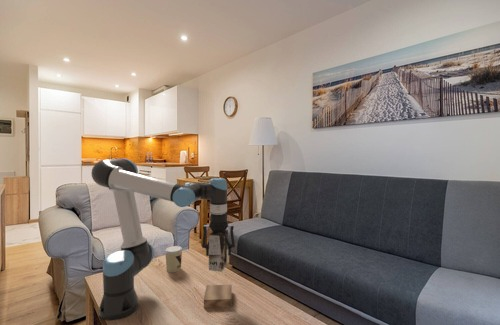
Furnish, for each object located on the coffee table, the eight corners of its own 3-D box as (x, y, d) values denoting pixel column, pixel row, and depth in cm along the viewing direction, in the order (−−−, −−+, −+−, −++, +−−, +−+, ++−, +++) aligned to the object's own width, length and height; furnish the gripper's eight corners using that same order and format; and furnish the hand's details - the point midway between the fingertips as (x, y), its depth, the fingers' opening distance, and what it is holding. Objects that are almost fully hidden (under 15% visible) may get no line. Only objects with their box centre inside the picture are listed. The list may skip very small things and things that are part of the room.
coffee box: (222, 272, 114) (222, 235, 113) (208, 270, 115) (208, 234, 114) (228, 263, 123) (228, 229, 122) (215, 261, 124) (215, 228, 123)
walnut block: (203, 308, 114) (203, 299, 113) (206, 293, 126) (206, 285, 125) (231, 307, 114) (231, 299, 114) (231, 292, 126) (231, 284, 126)
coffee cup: (179, 273, 144) (179, 252, 144) (162, 273, 144) (162, 251, 144) (184, 265, 154) (184, 245, 153) (168, 265, 154) (168, 245, 153)
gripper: (194, 215, 113) (195, 266, 115) (241, 214, 115) (241, 265, 116) (197, 210, 121) (197, 259, 122) (240, 210, 122) (240, 258, 123)
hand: (218, 262), depth 119 cm, fingers closed on coffee box, 7 cm apart
